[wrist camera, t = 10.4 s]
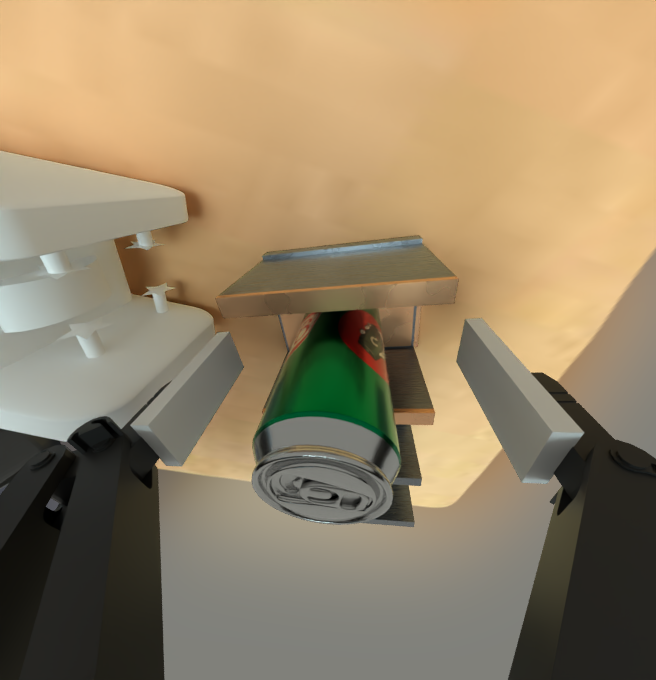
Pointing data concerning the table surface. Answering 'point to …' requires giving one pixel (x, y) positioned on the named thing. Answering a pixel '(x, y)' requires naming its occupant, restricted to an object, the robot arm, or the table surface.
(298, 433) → the soda can
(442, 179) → the table surface
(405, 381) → the can rack
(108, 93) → the table surface
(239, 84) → the table surface
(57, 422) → the cable organizer
